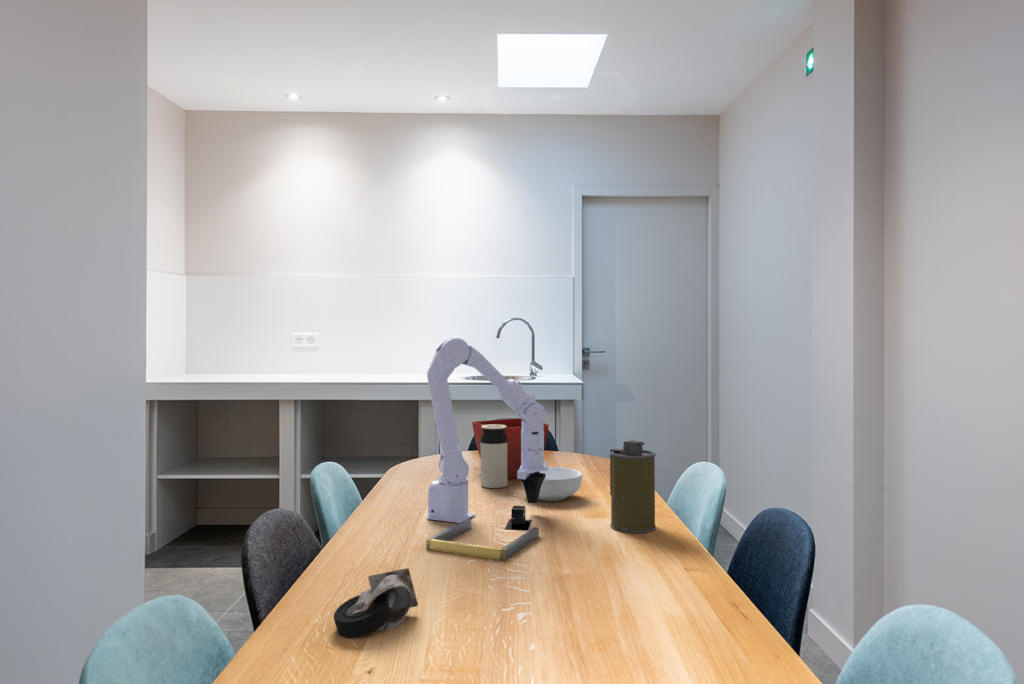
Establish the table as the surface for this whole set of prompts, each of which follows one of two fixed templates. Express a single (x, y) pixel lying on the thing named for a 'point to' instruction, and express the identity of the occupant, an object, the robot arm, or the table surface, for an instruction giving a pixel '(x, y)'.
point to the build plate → (518, 519)
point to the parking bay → (442, 544)
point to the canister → (632, 488)
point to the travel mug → (493, 456)
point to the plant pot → (513, 441)
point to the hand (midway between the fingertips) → (532, 502)
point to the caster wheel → (377, 605)
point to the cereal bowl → (559, 483)
